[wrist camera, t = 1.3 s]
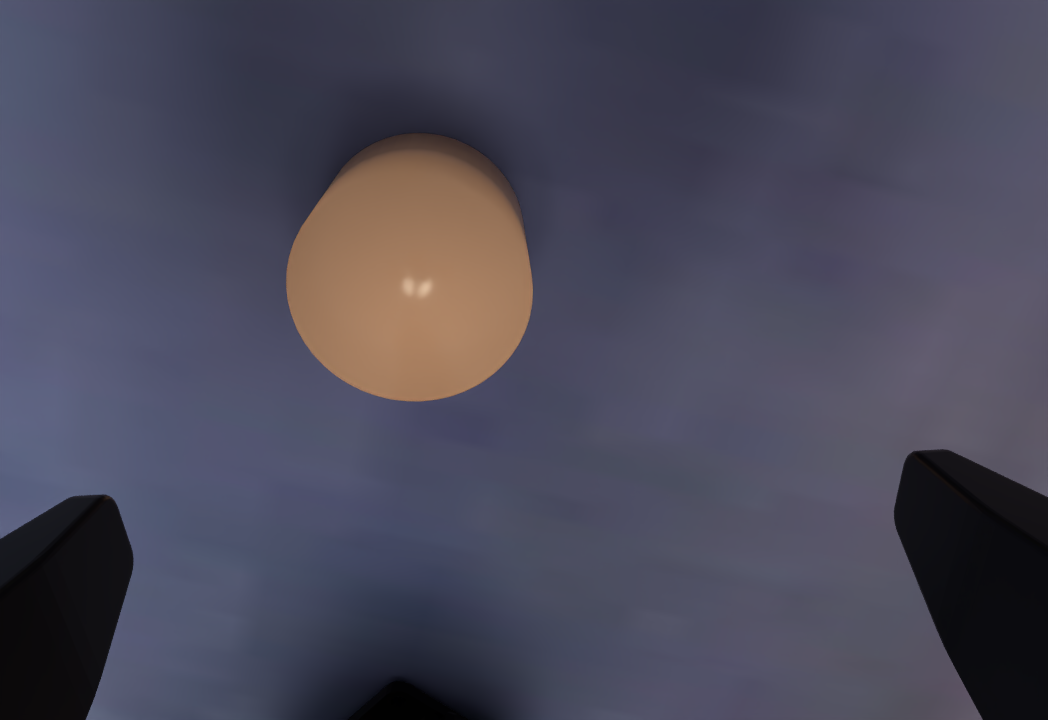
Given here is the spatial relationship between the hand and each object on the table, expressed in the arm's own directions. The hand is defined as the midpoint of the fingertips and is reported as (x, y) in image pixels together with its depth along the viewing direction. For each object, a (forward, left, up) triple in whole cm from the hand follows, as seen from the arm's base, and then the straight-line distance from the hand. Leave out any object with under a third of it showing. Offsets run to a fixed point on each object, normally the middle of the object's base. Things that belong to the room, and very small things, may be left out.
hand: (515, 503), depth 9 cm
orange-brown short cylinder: (-2, +1, -12) cm, 12 cm away
